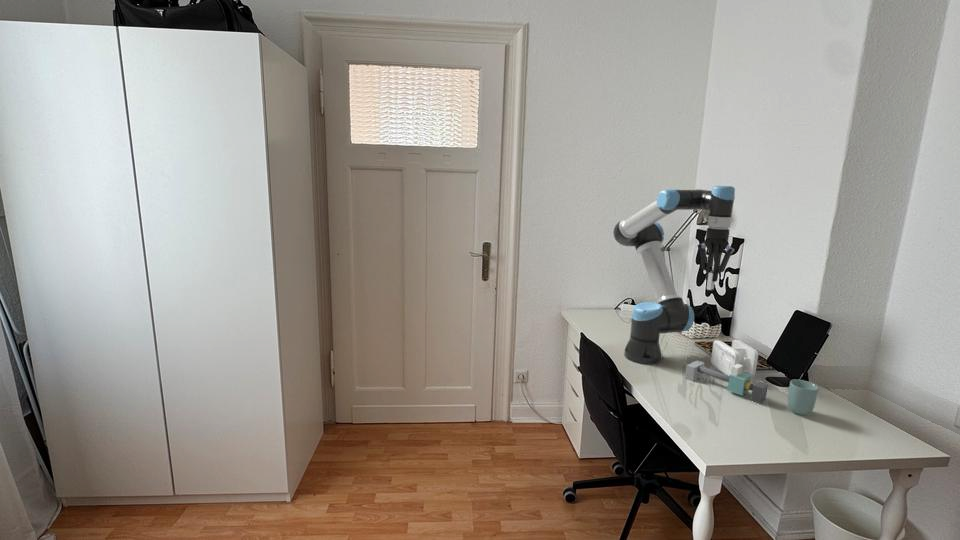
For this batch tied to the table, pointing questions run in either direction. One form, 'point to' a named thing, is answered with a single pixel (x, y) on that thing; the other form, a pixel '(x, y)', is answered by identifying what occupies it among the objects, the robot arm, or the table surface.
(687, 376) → the grey slab
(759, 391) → the block
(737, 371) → the sleeve
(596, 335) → the table surface
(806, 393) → the cup
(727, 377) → the grey rod
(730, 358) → the cable organizer
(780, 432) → the table surface
